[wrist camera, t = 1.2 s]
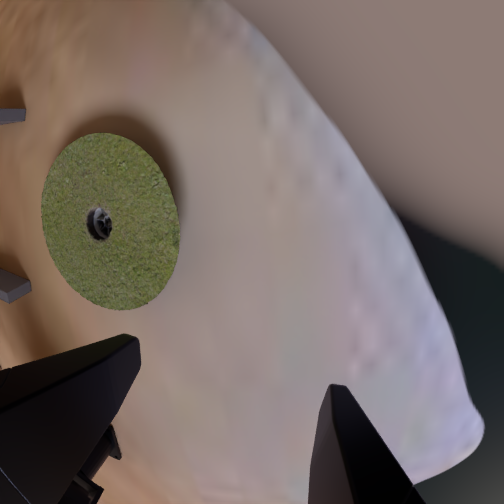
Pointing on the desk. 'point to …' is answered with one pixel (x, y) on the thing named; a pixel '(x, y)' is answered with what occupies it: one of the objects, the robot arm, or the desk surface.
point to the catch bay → (3, 282)
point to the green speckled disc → (110, 221)
